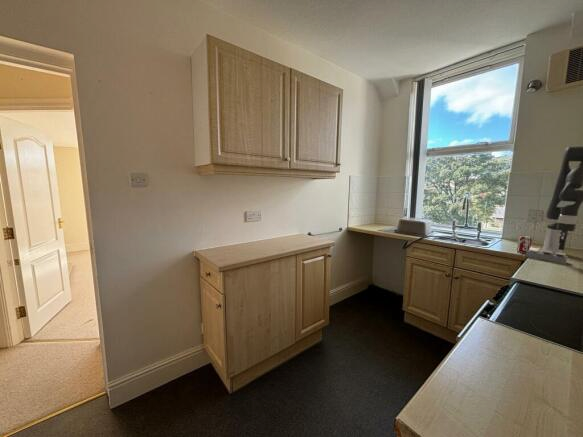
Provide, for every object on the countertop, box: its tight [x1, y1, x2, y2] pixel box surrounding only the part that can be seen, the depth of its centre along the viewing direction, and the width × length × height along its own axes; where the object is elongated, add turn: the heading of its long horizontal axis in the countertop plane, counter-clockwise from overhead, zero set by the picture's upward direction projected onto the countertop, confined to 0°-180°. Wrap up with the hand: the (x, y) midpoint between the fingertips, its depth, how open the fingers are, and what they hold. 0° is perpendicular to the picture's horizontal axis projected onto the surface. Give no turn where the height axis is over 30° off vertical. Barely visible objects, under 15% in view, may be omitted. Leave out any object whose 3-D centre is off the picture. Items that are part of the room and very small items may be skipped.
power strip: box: [525, 250, 569, 266], centre depth 158 cm, size 8×18×5 cm, turn 37°
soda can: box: [516, 235, 533, 254], centre depth 173 cm, size 7×7×12 cm
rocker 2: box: [555, 252, 567, 256], centre depth 153 cm, size 6×4×1 cm, turn 127°
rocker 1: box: [529, 245, 540, 252], centre depth 162 cm, size 6×4×1 cm, turn 126°
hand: (561, 249), depth 151 cm, fingers closed
